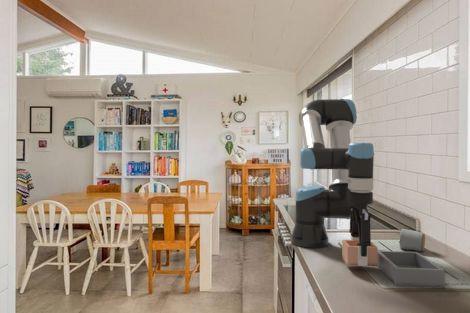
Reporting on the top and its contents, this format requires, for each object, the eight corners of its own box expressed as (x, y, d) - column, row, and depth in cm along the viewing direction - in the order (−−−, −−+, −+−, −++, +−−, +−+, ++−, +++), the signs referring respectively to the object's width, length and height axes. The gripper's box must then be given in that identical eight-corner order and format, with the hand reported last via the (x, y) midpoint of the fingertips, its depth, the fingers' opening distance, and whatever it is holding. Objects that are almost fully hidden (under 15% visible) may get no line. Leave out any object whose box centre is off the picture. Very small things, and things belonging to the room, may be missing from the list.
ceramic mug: (423, 254, 115) (424, 233, 115) (399, 250, 120) (399, 230, 120) (425, 247, 124) (426, 228, 124) (402, 244, 129) (402, 225, 129)
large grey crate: (395, 286, 88) (396, 268, 88) (375, 265, 104) (376, 250, 104) (444, 288, 87) (444, 270, 87) (417, 267, 103) (417, 251, 103)
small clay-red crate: (347, 265, 98) (347, 246, 98) (342, 257, 105) (342, 239, 105) (377, 266, 97) (377, 247, 97) (369, 258, 104) (370, 240, 104)
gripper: (340, 186, 111) (339, 249, 112) (357, 195, 91) (355, 273, 92) (362, 186, 110) (361, 250, 111) (384, 196, 90) (382, 274, 91)
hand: (358, 260), depth 101 cm, fingers closed on small clay-red crate, 7 cm apart
